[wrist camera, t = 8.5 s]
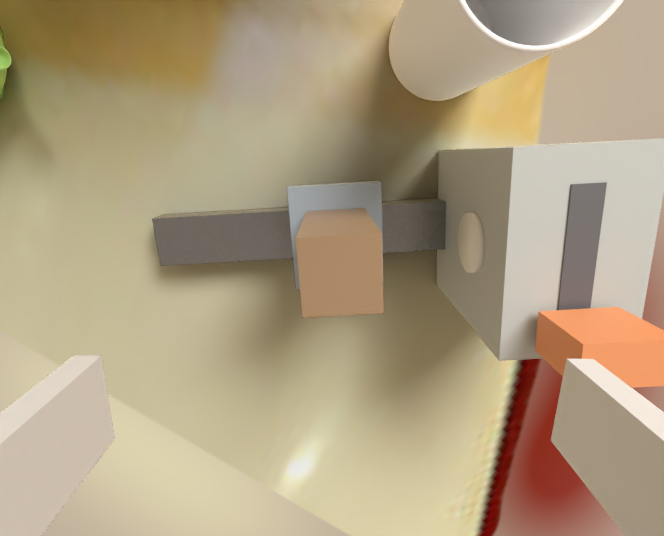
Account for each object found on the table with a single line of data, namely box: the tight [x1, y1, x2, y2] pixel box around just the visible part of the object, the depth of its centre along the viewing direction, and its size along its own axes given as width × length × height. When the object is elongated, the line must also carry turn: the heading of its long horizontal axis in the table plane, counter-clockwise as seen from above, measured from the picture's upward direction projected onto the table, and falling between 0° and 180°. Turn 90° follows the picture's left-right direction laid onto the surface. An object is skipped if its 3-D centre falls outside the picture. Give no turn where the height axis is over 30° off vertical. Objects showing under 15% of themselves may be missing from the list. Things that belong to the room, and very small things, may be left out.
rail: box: [152, 198, 446, 266], centre depth 34 cm, size 4×24×2 cm, turn 93°
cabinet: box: [437, 138, 664, 361], centre depth 28 cm, size 12×8×14 cm
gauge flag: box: [535, 307, 664, 388], centre depth 20 cm, size 2×4×4 cm, turn 94°
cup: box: [389, 0, 623, 101], centre depth 23 cm, size 8×8×16 cm
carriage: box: [287, 181, 384, 318], centre depth 27 cm, size 8×7×14 cm
